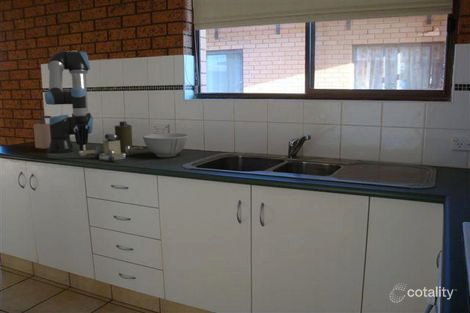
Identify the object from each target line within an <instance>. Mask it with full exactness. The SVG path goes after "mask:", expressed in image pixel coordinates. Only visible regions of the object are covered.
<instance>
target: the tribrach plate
mask: <svg viewBox="0 0 470 313" xmlns="http://www.w3.org/2000/svg"><path fill="white" fill-rule="evenodd" d="M104 139H105V140H102V143H103V145H102V146H103V153H100V154H99V158H98V159H99V160H100V161H108V162H110V161H109V157H108V150H114V153H121V154H123V153H124V152H121V150H120V140H118V136H117V135H115V134H113V133H106V134H105V135H104ZM124 154H125V155H126V153H124ZM126 158H127V156H126V157H125V158H122V157H115V161H120V160H124V159H125V160H126Z"/></svg>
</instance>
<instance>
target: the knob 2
mask: <svg viewBox="0 0 470 313" xmlns="http://www.w3.org/2000/svg"><path fill="white" fill-rule="evenodd" d="M143 150H144V148H143V146H142V145H140V146H134V147H133V148H130V145H126V146H125V153H126V157H130V156H132V154H131V153H130V151H133V152H135V151H143Z"/></svg>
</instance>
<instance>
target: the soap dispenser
mask: <svg viewBox="0 0 470 313" xmlns="http://www.w3.org/2000/svg"><path fill="white" fill-rule="evenodd" d="M51 117H52V116H51V115H40V119H39V123H37V124H36V123H34V124H32V125H33V135H34V136H33V137H34V146H35V147H34V148H36V149H49V145H50V141H51V136H50V125H49V123H46V120H45V119H50V118H51Z"/></svg>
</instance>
